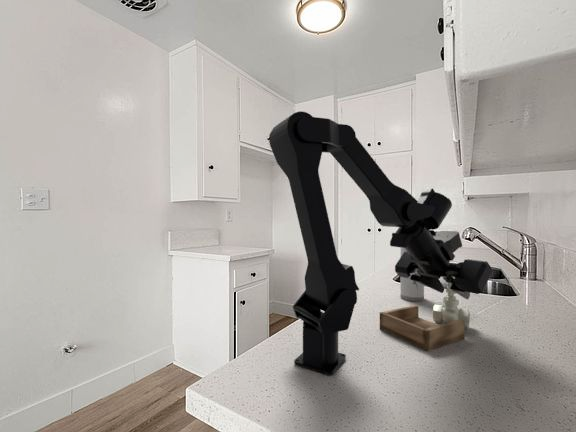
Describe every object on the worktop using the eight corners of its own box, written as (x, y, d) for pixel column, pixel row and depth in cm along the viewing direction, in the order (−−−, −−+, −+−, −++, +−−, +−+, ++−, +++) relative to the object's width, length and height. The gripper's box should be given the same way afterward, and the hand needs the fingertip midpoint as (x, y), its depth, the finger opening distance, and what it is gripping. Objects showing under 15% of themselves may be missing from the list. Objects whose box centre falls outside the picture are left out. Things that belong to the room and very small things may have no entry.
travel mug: (405, 294, 87) (405, 228, 87) (427, 298, 82) (427, 229, 82) (395, 298, 83) (395, 229, 83) (418, 303, 78) (418, 230, 78)
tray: (426, 351, 50) (426, 331, 50) (379, 329, 60) (379, 312, 60) (464, 338, 55) (464, 320, 55) (415, 320, 65) (415, 305, 65)
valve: (467, 334, 57) (467, 274, 57) (431, 326, 61) (431, 270, 61) (470, 324, 62) (470, 269, 62) (436, 318, 66) (436, 266, 66)
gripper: (487, 218, 52) (518, 273, 57) (403, 218, 68) (433, 260, 73) (460, 264, 48) (496, 319, 53) (378, 252, 65) (412, 295, 70)
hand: (455, 294), depth 62 cm, fingers closed on valve, 5 cm apart
